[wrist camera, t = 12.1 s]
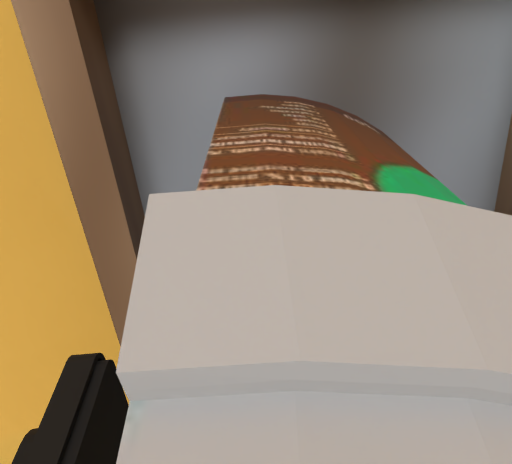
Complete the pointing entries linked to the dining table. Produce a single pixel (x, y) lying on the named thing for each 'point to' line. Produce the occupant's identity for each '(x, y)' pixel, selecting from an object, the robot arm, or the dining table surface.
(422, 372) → the food container
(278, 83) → the board
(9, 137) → the dining table surface
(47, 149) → the dining table surface
